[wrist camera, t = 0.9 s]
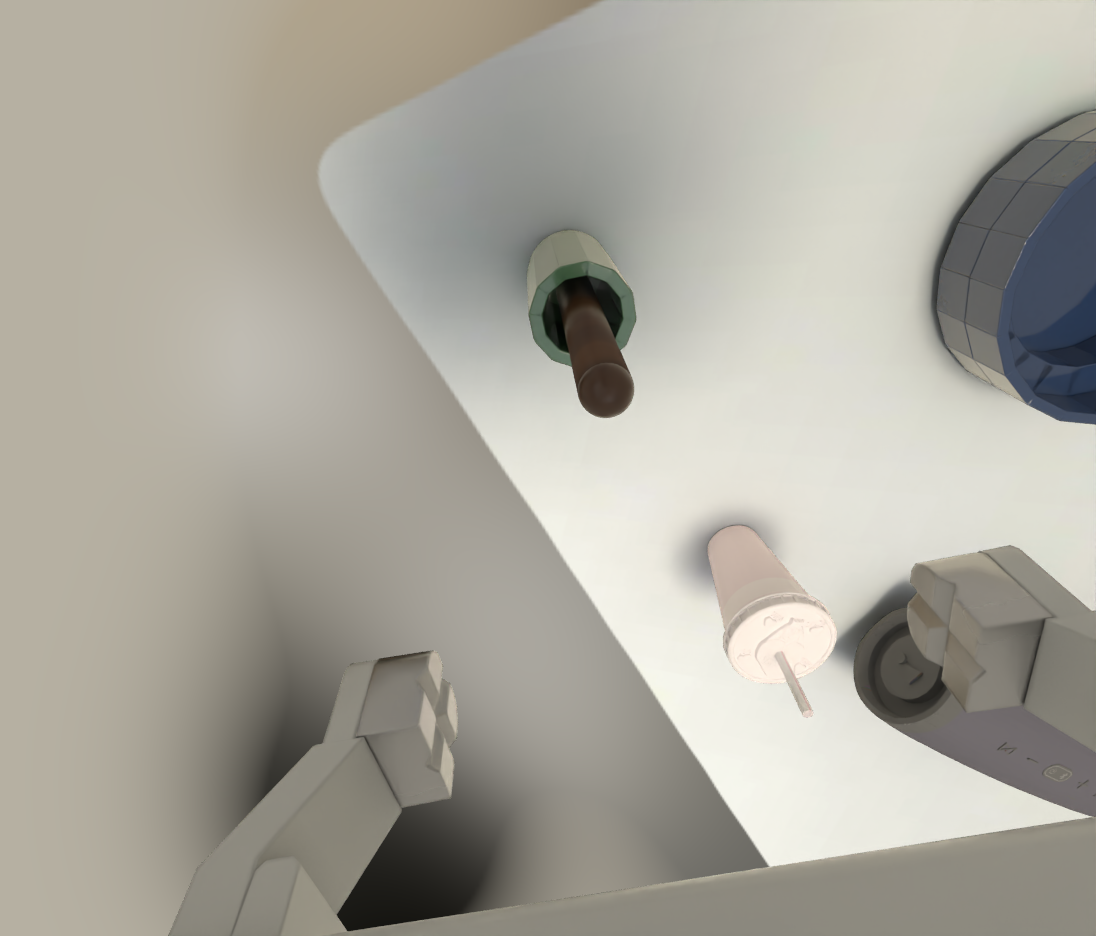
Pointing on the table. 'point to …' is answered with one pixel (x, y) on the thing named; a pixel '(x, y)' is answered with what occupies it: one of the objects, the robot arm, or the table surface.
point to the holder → (568, 260)
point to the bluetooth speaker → (969, 722)
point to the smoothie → (767, 614)
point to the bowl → (1030, 276)
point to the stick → (593, 351)
